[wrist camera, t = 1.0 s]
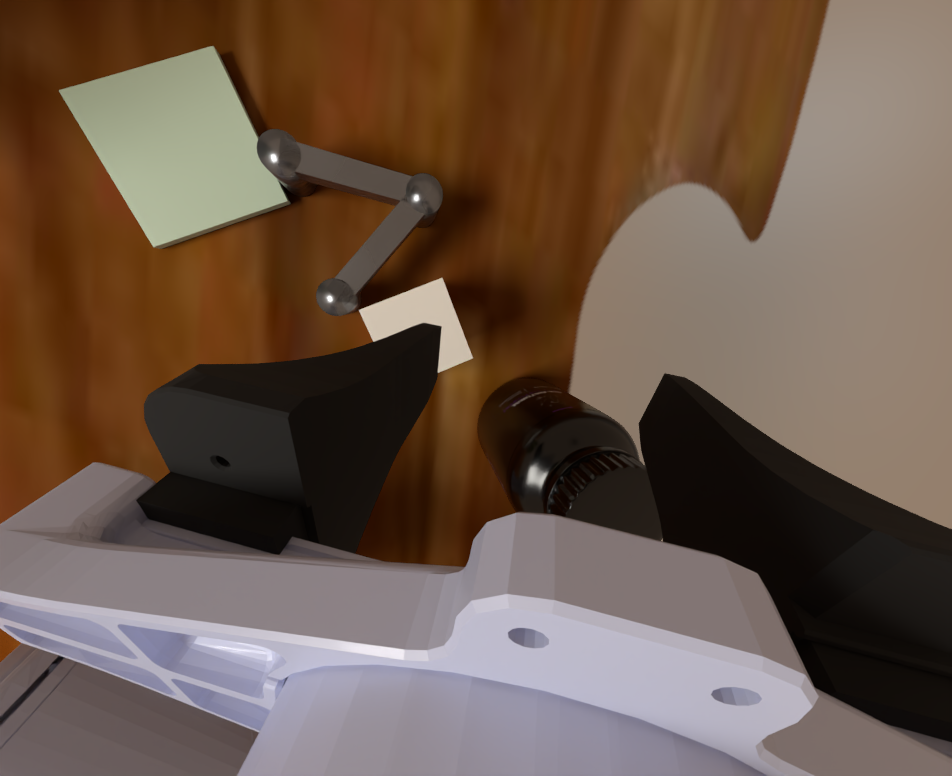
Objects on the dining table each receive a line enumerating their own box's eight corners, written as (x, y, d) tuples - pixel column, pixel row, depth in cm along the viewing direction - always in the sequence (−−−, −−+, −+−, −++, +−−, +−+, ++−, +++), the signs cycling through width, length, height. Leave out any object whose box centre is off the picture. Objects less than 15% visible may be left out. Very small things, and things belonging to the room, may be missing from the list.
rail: (338, 318, 21) (326, 321, 18) (265, 168, 19) (237, 140, 15) (458, 271, 22) (469, 265, 19) (404, 122, 20) (405, 86, 16)
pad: (160, 248, 19) (153, 247, 18) (70, 97, 17) (58, 90, 16) (290, 203, 19) (287, 200, 19) (219, 54, 17) (213, 45, 17)
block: (396, 368, 23) (396, 390, 17) (369, 308, 21) (358, 310, 16) (454, 344, 23) (472, 358, 17) (430, 284, 22) (442, 277, 16)
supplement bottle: (519, 355, 24) (629, 402, 13) (583, 414, 26) (727, 501, 15) (453, 431, 24) (503, 544, 13) (522, 484, 26) (617, 621, 15)
